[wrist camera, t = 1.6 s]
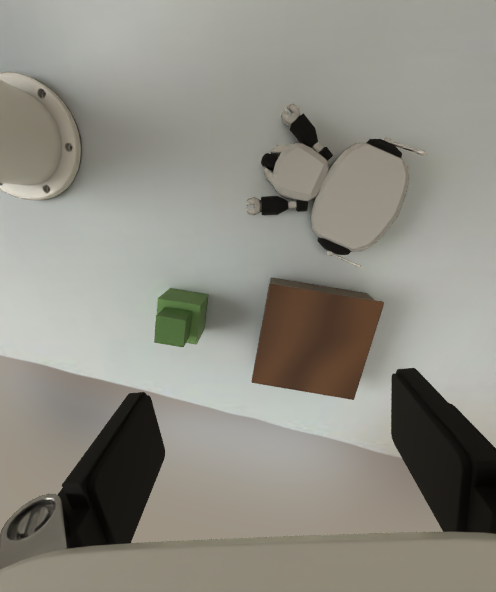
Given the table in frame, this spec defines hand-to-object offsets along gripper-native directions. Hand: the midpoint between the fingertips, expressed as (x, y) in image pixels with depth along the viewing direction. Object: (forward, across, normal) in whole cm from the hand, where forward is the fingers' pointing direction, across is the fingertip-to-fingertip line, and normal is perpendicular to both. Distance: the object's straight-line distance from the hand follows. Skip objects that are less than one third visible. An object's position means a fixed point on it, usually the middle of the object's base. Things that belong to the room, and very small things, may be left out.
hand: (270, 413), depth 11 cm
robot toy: (+26, -8, -9) cm, 28 cm away
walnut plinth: (+25, -5, +8) cm, 27 cm away
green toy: (+26, +11, +4) cm, 28 cm away
